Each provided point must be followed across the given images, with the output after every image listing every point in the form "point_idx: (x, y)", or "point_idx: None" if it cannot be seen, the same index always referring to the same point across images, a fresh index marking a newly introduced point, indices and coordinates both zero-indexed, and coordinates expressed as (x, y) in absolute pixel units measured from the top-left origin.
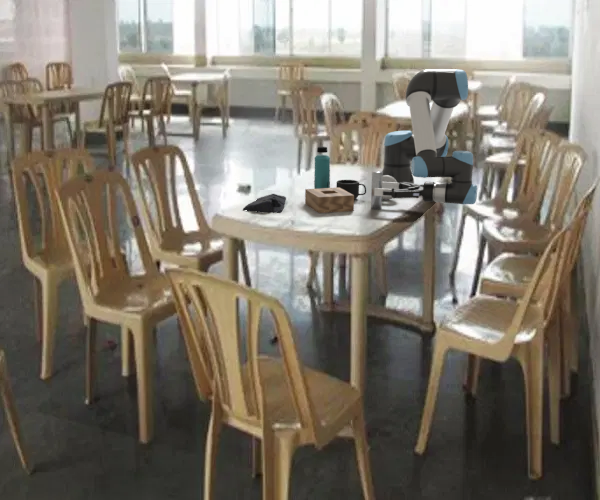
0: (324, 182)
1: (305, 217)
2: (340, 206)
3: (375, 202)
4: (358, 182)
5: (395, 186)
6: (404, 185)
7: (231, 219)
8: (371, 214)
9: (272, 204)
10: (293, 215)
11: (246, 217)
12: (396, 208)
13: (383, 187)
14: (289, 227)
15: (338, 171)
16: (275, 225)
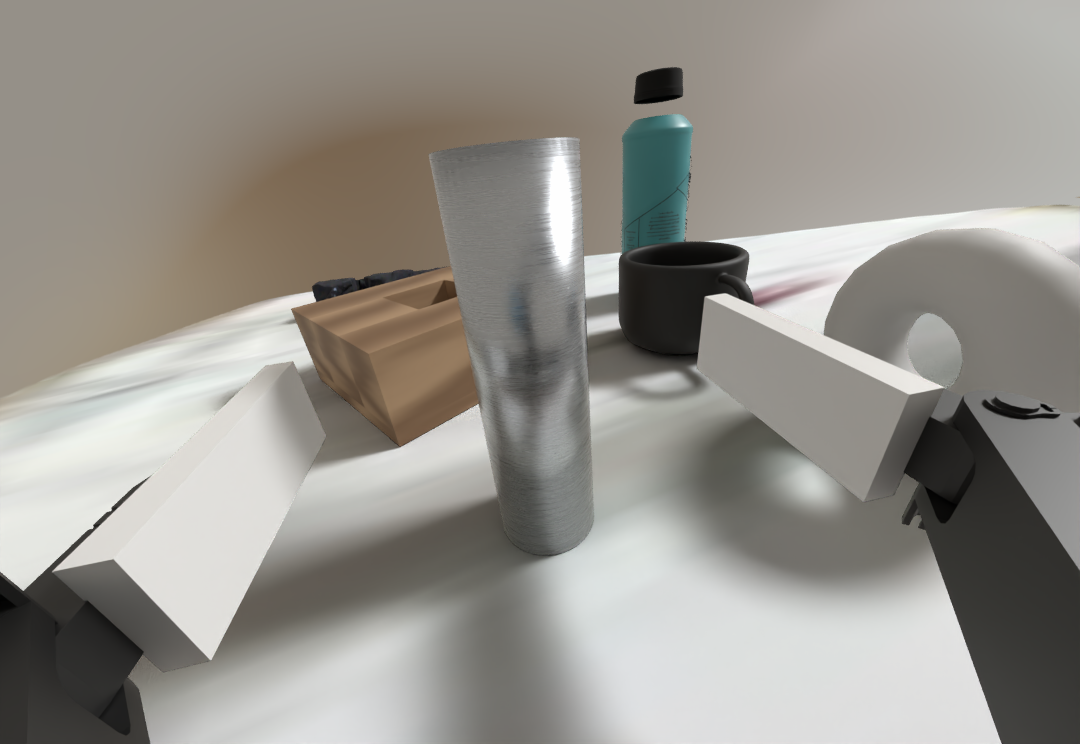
0: (635, 246)
1: (226, 382)
2: (353, 389)
3: (494, 479)
4: (715, 265)
5: (831, 421)
6: (1026, 544)
7: (229, 314)
8: (280, 585)
9: (331, 296)
10: (273, 354)
11: (252, 318)
12: (688, 701)
13: (708, 361)
14: (13, 412)
15: (997, 224)
16: (87, 379)
